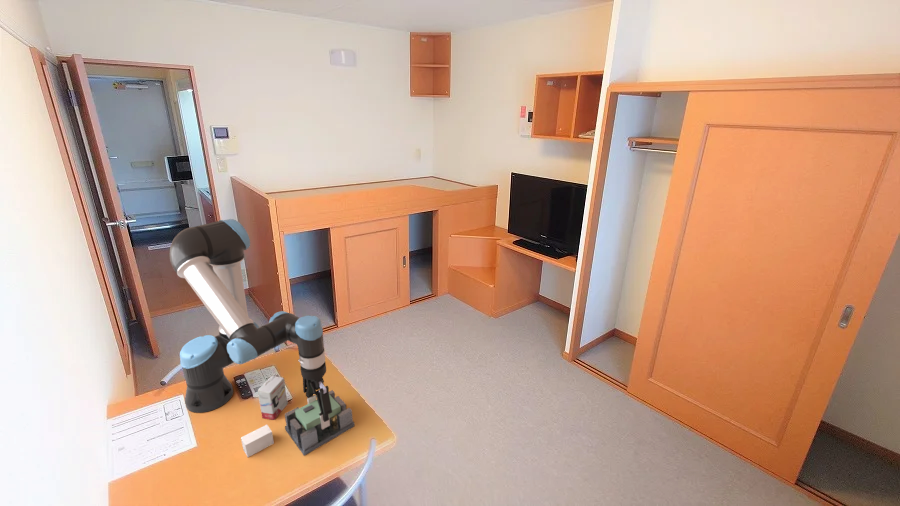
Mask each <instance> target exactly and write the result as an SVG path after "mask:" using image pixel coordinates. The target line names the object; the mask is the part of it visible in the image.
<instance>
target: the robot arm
mask: <svg viewBox="0 0 900 506" xmlns="http://www.w3.org/2000/svg"><path fill="white" fill-rule="evenodd" d="M250 247H251V240H250V235H249V233H248V232H247V230H246V228H245V227H244V226H243V224H242V223H240V222H239V221H238V220H236V219H234V218H229V219H224V220H223V219H220V220H218V221H213V222H210V223H206V224H205V223H204V224H200V225H196V226H190V227H187V228H183V230H181V231H179V232H178V233H177V234H176V235H175V236H174V238H173V240H172V242H171V244H170V248H169V262H170V265H171V267H172V269H173V270H174V272H175V274H176V275H177V276H178V277H179V278H181V279H185V281H186V282H187V284H188V285H189V286H190V287H191V289H192V290H193V292H194V293H195V295H196V296H197V297H198V298H199V300H200V301H201V302H202V303H203V305H204V307H205V308H206V310H207V311H208V312H209V313H210V315H211V316H212V317H213V318H214V320H215V322H216V323H217V324H218V325H219V326H218V335H216V336H213V335H211V334H208V335H205V334H204V335H203V336H202V335H200V336H198V337H195V338H193V339H190V340H189V341H188V342H186V343H184V345H183V346H182V347H181V350H180V351H179V359H180V364H179V365H180V367H181V368H182V372H183V376H184V379H185V380H184V381H185V383H186V389H185V390H186V391H185V396H184V404H185V407H186V409H187V410H188V411H189V412H192V413H196V414H198V413H206V412H211V411H214V410H217V409H219V408H221V407H222V406H224V405H226V404H227V403H228V402H229V401H230V400H231V398H232V396H233V395H234V389H233V384H232V383H231V381H229V379H228V377H227V376H226V375H225V372H224V368H226V367H228V366H230V365H232V364H237V365H243V364H245V363H248V362H250V361H252V360H255V359H256V358H258V357H260V356H261V355H264V354H265V353H266V352H269V351H271V350H272V349H274V348H277V347H278V346H280V345H282V344H284V343H286V342H291V343H292V344H295V345H297V350H298V356H299V359H297V360H298V362H299V365H300V372H301V373H300V375H301V376H302V377H301V378H302V392H303V393H304V394H305V397H306V398H307V399H306V400H307V404H309V403H311V402H313V401H315V400H317V401H318V404H319V408H320V411H321V412H320V413H319V415H320V421H321V429H322V430H323V429H324V428H326V427H328V426H330V421H329V414H330V413H332V408H331V402H330V397H329V391H330V390H329V386H328V385H326V386H325V384H324V382H325V380H324V378H323V377H324V376H325V374H326V373H327V364H326V353H325V344H324V343H325V341H324V334H323V333H324V329H323V326H322V320H321V319H320V318H319V317H318V316H317V315H304V316H301V317H298V316H297V315H295V314H294V313H292V312H287V311H284V310H282V311H281V310H280V311H278V312H275V313H274V314H273V315H272V316H271V317H270V318H269V320H268V322H267V323H266V324H264V325H261V326H259V325H258V323H256V322H255V321H254V320H253V319H251V318H250V317H249V313H248V307H247V300H246V299H247V298H246V291H245V285H244V279H243V272H242V263H241V262H242V261H243V260H244V259H245V253H244V251H247V250H248V249H249V248H250Z"/></svg>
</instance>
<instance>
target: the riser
mask: <svg viewBox="0 0 900 506" xmlns="http://www.w3.org/2000/svg"><path fill="white" fill-rule="evenodd" d="M240 440H241V441H240V442H241V445H242V448H243V449H242V450H243V452H244V454H245V455H246V457H247V458H249V457H251V456H253V455H256V454H258V453H259V452H260V451H263V450H265V449H266V448H268V447H270V446H272V445H274V444H275V442H274V436H273V431H272V430H271V428H270V427H269V425H268V424H265V425H263V426H261V427H258V428H257V429H255V430H254V431H253V430H252V431H251V432H249V433H247V434H245V435H243V436H241V437H240Z"/></svg>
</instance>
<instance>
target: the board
mask: <svg viewBox="0 0 900 506" xmlns="http://www.w3.org/2000/svg"><path fill="white" fill-rule="evenodd" d="M329 397H330V402H331V408H332V413H330V414H329V418H331V417H333V416H334V415H336V414H338V413H340V412H341V407H340V405H339V404H338V403H337V402H336V401H335V400H334V399H333V398H332V397H331V395H330V394H329ZM320 412H321V411H320V408H319V404H318V401H317V399H316V400H315V401H313V402H311V403H309V404H308V403H307V404H305V405H304V406H301V407H299V409H297V410H295V414H296V417H297V419H298V420H299V421H300V422H301V424H302V425H303V426H304V427H305V429H306V430H309V429H311V428H312V427H314V426H316V425H318V424H320V423H321V421H320V415H319V413H320Z"/></svg>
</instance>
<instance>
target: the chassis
mask: <svg viewBox="0 0 900 506" xmlns="http://www.w3.org/2000/svg"><path fill="white" fill-rule="evenodd" d="M329 394H330V395H331V397H332V398H333V399H334V400H335V401H336V402H337V403H338V404H339V405H340V407H341V412H340V413H338V414H336V415H334V416H333V417H331V418H329V421H330V426H328V427H326V428H324V429H323V430H322V429H321V423H320V424H318V425H316V426H314V427H312V428H311V429H309V430H306V429H305V427H304V426H303V425H302V424H301V422H300V421H299V420H298V419H297V417H296V414H295V410H297V409H299V408H300V407H299V406H298V407H295V408H293V409H291V410H289V411H288V412H285V413H284V419H285V426H284V429H285V432H286V433H287V434H288V435H289V438H291V440H292V441H293V443H294V444H295V445H296V447H297V448H298V450H299V451H300V453H302V455H303V456H304V457H305V456H307V455H309V454H310V453H311V452H313V451H315V450H316V449H319V448H320V447H322V446H323V445H325V444H327V443H329V442H331V441H332V440H334V439H336V438H337V437H339V436H340V435H342V434H344V433H346V432H348V431H349V430H351V429H353V428H354V427H355V426H356V425H355V422H354V420H353V410H352V408H350V407H348V408H346V407H347V404H346V403H345V402H344V400H343V399H342V398H340V396H339V395H336V393H335V391H334V390H333V389H331V390H329Z"/></svg>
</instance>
